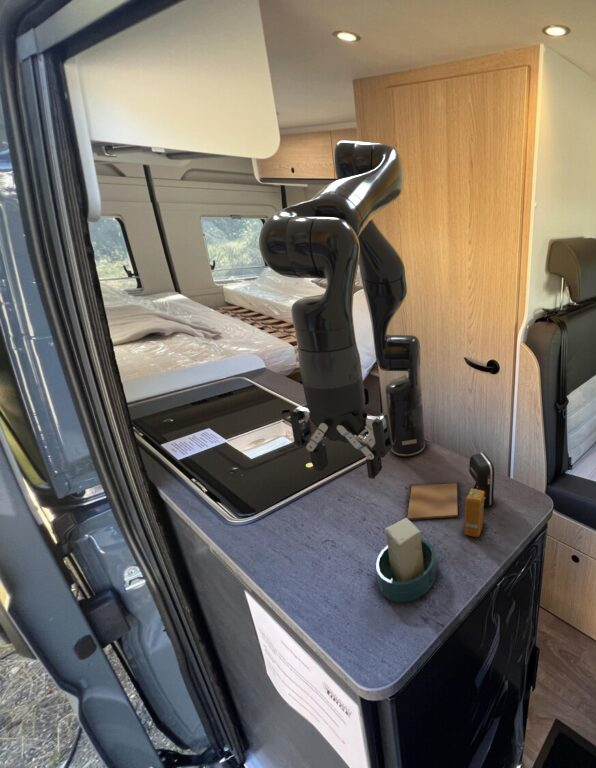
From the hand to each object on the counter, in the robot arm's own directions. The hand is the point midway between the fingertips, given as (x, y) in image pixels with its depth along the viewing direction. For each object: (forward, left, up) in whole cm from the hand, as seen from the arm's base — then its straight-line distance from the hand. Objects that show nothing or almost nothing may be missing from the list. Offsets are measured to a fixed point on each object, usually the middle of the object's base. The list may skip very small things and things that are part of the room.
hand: (348, 471), depth 59 cm
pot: (-1, +7, -25) cm, 26 cm away
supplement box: (-11, +20, -26) cm, 34 cm away
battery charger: (-21, +22, -26) cm, 40 cm away
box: (-1, +7, -25) cm, 26 cm away
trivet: (-21, +11, -25) cm, 35 cm away
